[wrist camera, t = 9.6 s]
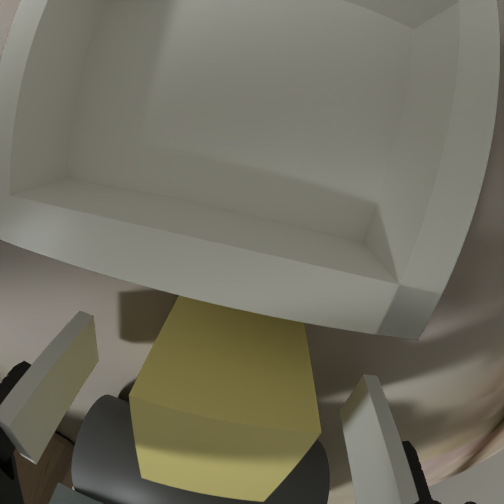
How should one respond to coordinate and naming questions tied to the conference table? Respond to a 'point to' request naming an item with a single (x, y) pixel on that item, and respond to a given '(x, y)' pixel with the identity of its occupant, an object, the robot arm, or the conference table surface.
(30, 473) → the block
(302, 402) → the yellow cube
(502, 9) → the conference table surface
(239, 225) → the tray
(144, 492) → the grey plate on cylinders
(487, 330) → the conference table surface
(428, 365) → the conference table surface
